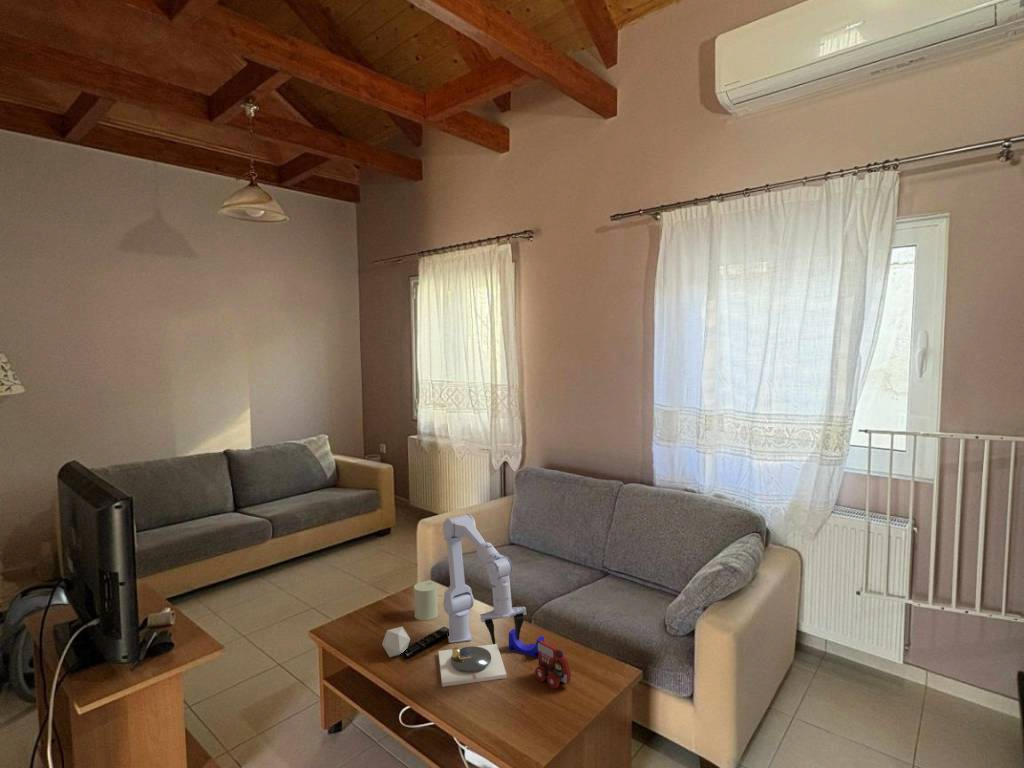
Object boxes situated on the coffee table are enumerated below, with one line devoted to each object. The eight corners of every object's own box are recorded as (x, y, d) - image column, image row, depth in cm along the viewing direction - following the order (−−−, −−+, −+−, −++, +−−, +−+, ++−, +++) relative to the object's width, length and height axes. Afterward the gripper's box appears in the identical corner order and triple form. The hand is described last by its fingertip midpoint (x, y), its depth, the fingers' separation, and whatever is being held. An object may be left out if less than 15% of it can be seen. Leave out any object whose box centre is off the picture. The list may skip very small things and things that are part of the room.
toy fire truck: (561, 693, 157) (560, 659, 157) (531, 676, 166) (530, 643, 166) (576, 683, 162) (575, 650, 162) (546, 667, 171) (545, 635, 171)
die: (407, 645, 186) (389, 623, 186) (419, 641, 181) (401, 618, 180) (390, 665, 180) (372, 641, 180) (403, 661, 174) (384, 637, 174)
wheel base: (438, 654, 179) (438, 649, 179) (496, 647, 183) (496, 642, 183) (442, 687, 161) (442, 681, 161) (506, 678, 165) (506, 673, 165)
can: (443, 612, 208) (442, 582, 208) (427, 622, 201) (426, 591, 200) (425, 607, 213) (424, 578, 213) (409, 616, 206) (408, 586, 205)
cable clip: (546, 652, 180) (546, 634, 180) (540, 658, 176) (540, 641, 176) (514, 643, 186) (514, 627, 185) (508, 650, 182) (508, 633, 181)
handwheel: (487, 646, 180) (487, 635, 180) (494, 668, 167) (493, 656, 167) (449, 651, 177) (449, 639, 177) (452, 674, 165) (452, 661, 164)
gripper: (481, 605, 163) (485, 650, 162) (527, 597, 166) (530, 641, 166) (477, 597, 170) (481, 641, 169) (521, 590, 173) (525, 632, 172)
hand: (505, 640), depth 168 cm, fingers open, 7 cm apart
